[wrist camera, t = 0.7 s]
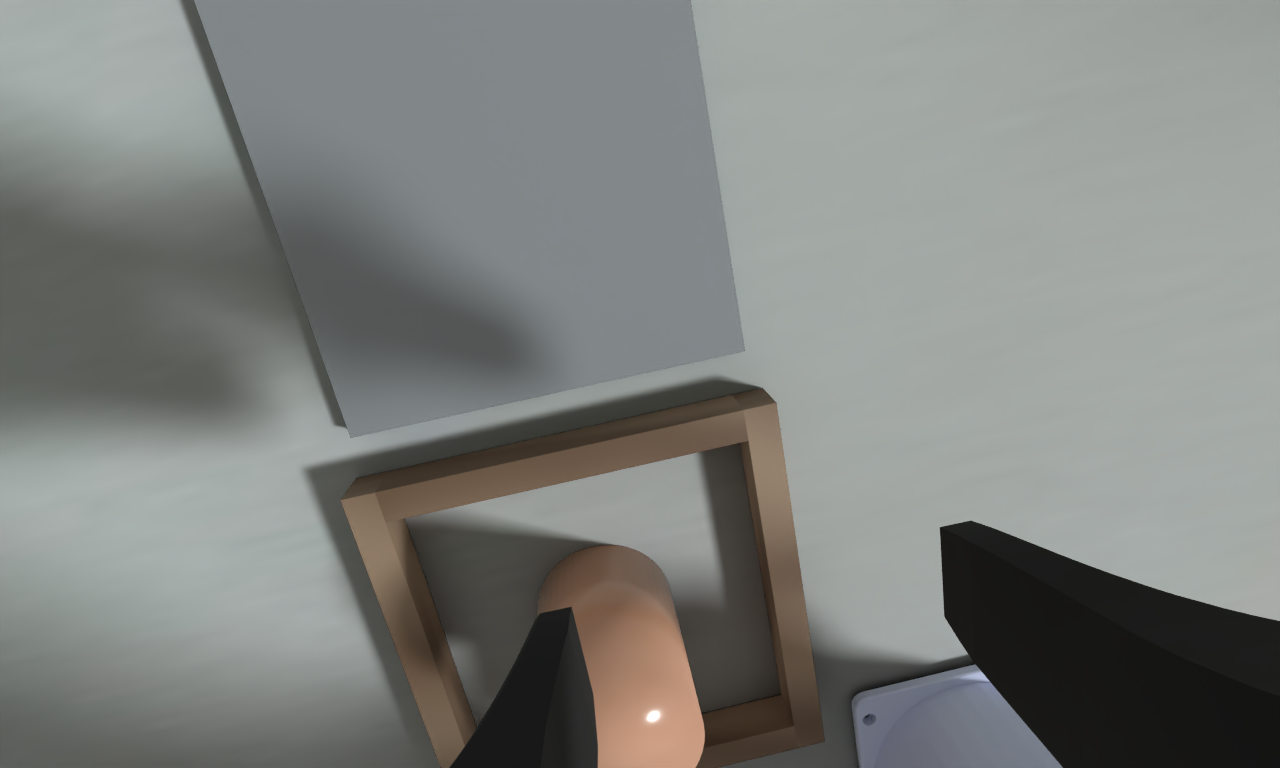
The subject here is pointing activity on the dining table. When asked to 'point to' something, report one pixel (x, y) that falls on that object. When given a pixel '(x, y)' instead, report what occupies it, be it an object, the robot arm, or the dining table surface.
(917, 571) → the dining table surface
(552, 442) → the frame
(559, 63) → the grey mat
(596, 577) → the peach rounded block
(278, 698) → the dining table surface
